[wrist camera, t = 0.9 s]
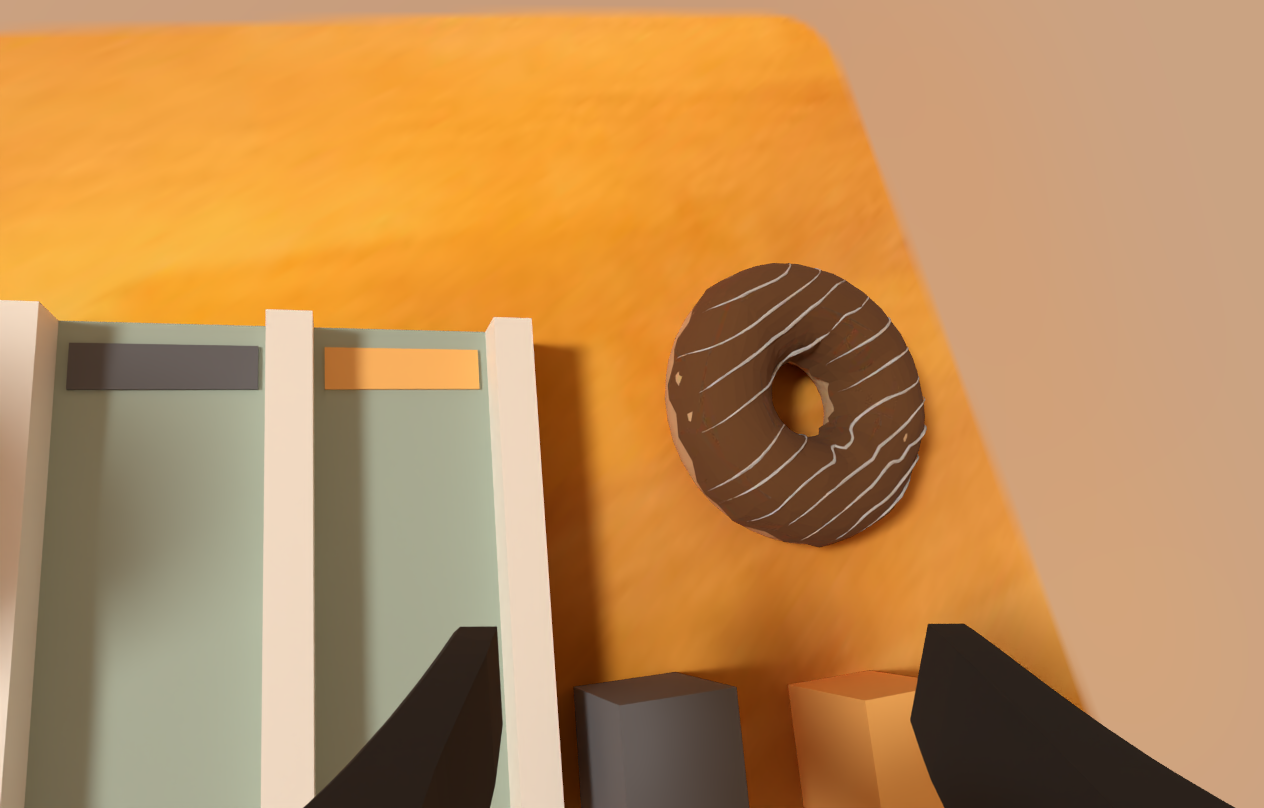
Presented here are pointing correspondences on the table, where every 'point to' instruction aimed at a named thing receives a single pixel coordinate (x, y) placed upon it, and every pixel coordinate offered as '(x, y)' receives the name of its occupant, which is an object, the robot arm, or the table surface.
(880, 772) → the wooden block
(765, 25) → the table surface
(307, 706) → the comb board
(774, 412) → the donut
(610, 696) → the dark grey block
